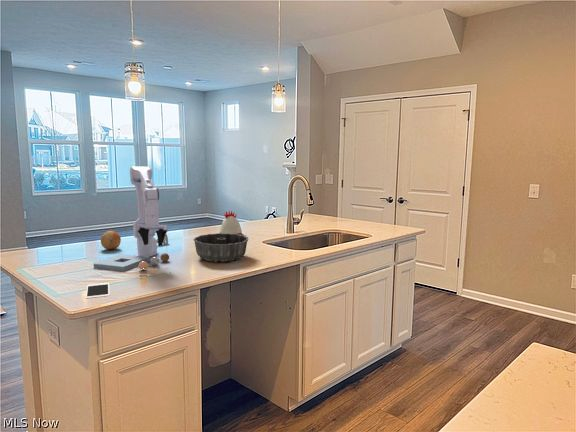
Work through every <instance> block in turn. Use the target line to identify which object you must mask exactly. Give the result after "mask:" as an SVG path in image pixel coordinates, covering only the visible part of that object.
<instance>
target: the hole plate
mask: <svg viewBox="0 0 576 432" xmlns="http://www.w3.org/2000/svg"><path fill="white" fill-rule="evenodd" d="M150 259H151V256H150V257H143V256H134V254H133V255H131V254H123V253H122V254H118V255H115V256H113V257H109V258H106V259H103V260H100V261H97V262H94V263H93V269H99V270H101V269H102V270H110V271H116V272H117V271H119V272H126V271H128V270H131V269H134V268H136V267H138V265H139V263H140V262H142V261H145V262H147V263H150Z"/></svg>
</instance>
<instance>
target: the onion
mask: <svg viewBox="0 0 576 432" xmlns="http://www.w3.org/2000/svg"><path fill="white" fill-rule="evenodd" d="M121 242H122V239H121V236H120V234H119V233H118V232H117V231H115V230H106V231H105V232H104V233H103V234H102V235H101V236H100V244H101V246H102V247H103V248H104V249H105V250H116V249H118V248H119V247H120V245H121Z"/></svg>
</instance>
